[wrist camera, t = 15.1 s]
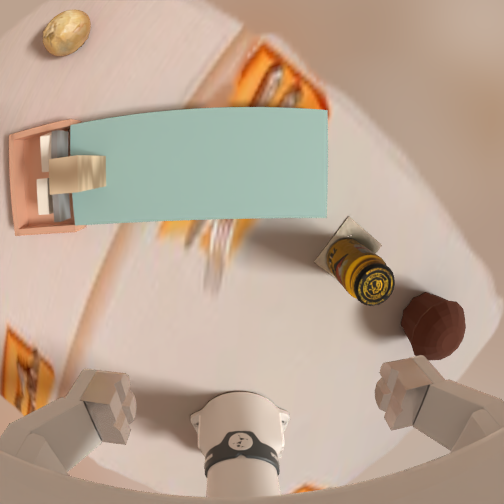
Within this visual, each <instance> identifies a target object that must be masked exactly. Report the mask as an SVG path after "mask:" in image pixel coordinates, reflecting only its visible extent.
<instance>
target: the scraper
mask: <svg viewBox="0 0 504 504" xmlns="http://www.w3.org/2000/svg"><path fill="white" fill-rule="evenodd" d="M68 133H69V132H68V131H61V130H55V131H52V137H51V159H49V189H50V195H52V198H53V212H54V222H61V221H64V220H66V219H69V218H71V215H70V201H69V193H76V192H82V191H86V190H91V189H95V188H100V187H105V186H106V156H91V155H76V156H68Z"/></svg>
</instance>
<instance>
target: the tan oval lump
mask: <svg viewBox="0 0 504 504" xmlns="http://www.w3.org/2000/svg"><path fill="white" fill-rule="evenodd" d="M90 28H91V23H90V19H89V17H88V15H87V14H86V13H84V12H83V11H80V10H68V11H64V12H62V13H60V14H58V15H57V16H55V17H54V18H53V19H52V20H51V21H50V22H49V24H48V25H47V26H46V28H45V30H44V31H43V44H44V46H45V48H46V50H47V51H48V52H49V53H51V54H52V55H55V56H66V55H69V54H71V53H73V52H75V51H76V50H78V48H79V47H82V45H83V44H84V42H85V41H86V40H87V39H88V35H89V33H90Z"/></svg>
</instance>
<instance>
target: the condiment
mask: <svg viewBox="0 0 504 504" xmlns="http://www.w3.org/2000/svg"><path fill="white" fill-rule="evenodd" d="M350 235H352V236H350ZM347 236H349V237H347ZM381 246H382V245H381V244H380V243H379V242H378V241H377V240H376V239H374V238H373V237H372V236H371V235H370V234H369V233H368V232H366V231H365V230H364V229H363V228H362V227H361V226H359V225H358V224H357V223H356V222H355V221H354V220H353V219H351V218H350V217H348V218H347V220H346V221H345V222H344V223H343V225H342V226H341V228H340V229H339V230H338V231H337V233H336V234H335V235H334V237H333V238H332V239H331V240H330V242H329V243H328V244H327V246H326V247H325V248H324V249H323V251H322V252H321V253H320V255H319V256H318V257H317V258H316V260H315V261H314V263H316V264H317V265H318V266H320V267H321V268H322V269H324V270H325V271H326V272H328V273H329V274H330V275H332V276H333V277H334V278H336V279H337V280H338V281H339V282H340V283H341V285H343V287H344V288H345V289H346V291H347V292H348V293H349V294H350V295H351V296H353V297H354V298H357V299H358V300H359V301H360V302H361V303H363V304H365V305H369V306H373V305H379V304H380V303H382V302H384V301H385V300H387V299H388V298H389V296H390V295H391V294H392V292H393V289H394V284H395V283H394V275H393V272H392V271H391V269H390V268H389V267H387V266H386V263H385V262H384V261H383V260H382V258H381V257H379V256H377V255H376V254H375V253H376V252H377V251H378V250H379V248H380V247H381Z"/></svg>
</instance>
